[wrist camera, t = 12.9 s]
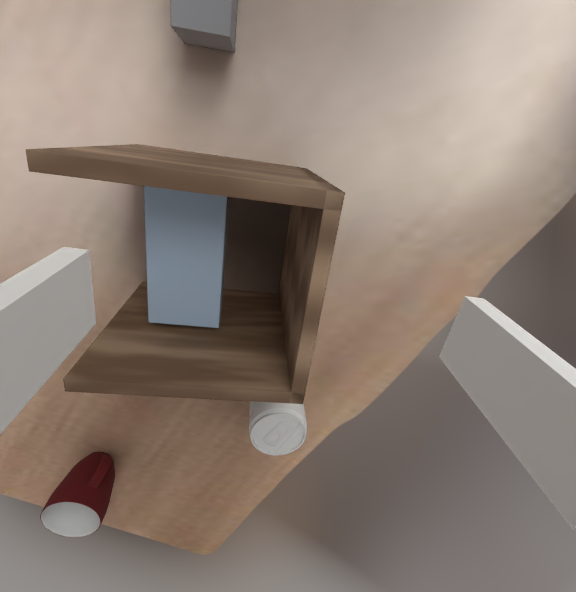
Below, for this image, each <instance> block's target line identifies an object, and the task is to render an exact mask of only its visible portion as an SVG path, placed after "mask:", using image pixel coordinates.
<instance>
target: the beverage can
mask: <svg viewBox="0 0 576 592" xmlns="http://www.w3.org/2000/svg"><path fill="white" fill-rule="evenodd" d="M306 433H307V423H306V417H305V411H304V405H303V404H291V403H272V402H254V401H250V416H249V435H250V438H251V442H252V444H253V445H254V447H255V448H256V449H257V450H259V451H260V452H262V453H265V454H268V455H285V454H288V453H291V452H293V451H295V450H297V449H298V448H299V447H300V446H301V445H302V444H303V443H304V441H305V438H306Z"/></svg>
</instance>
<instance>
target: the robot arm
mask: <svg viewBox="0 0 576 592" xmlns="http://www.w3.org/2000/svg"><path fill="white" fill-rule="evenodd" d="M95 324H96V316H95V306H94V295H93V285H92V274H91V264H90V253H89V250H87V249H79V248H71V247H62V248H60V249H59V250H57V251H55V252H54V253H52V254H50V255H49V256H47V257H45V258H43V259H42V260H40V261H38V262H37V263H35V264H33V265H31V266H30V267H28V268H26V269H25V270H23V271H21V272H20V273H18V274H16V275H14V276H13V277H11V278H9V279H8V280H6V281H4V282H2V283H1V284H0V434H1V433H2V432H3V431H4V430H5V429H6V427H7V426H8V425H9V424H10V423H11V422H12V420H13V419H14V418H15V417H16V416H17V415H18V413H19V412H20V411H21V410H22V409H23V408H24V407H25V405H26V404H27V403H28V402H29V401H30V400H31V398H32V397H33V396H34V395H35V394H36V393H37V391H38V390H39V389H40V388H41V387H42V386H43V384H44V383H45V382H46V381H47V380H48V379H49V378H50V376H51V375H52V374H53V373H54V372H55V371H56V369H57V368H58V367H59V366H60V365H61V364H62V362H63V361H64V360H65V359H66V358H67V357H68V356H69V354H70V353H71V352H72V351H73V350H74V349H75V347H76V346H77V345H78V344H79V343H80V342H81V340H82V339H83V338H84V337H85V336H86V335H87V333H88V332H89V331H90V330H91V329H92V328H93V327H94V325H95ZM439 357H440V359H441V360H442V361H443V363H444V364H445V365H446V366H447V368H448V369H449V370H450V372H451V373H452V374H453V376H454V377H455V378H456V379H457V381H458V382H459V383H460V385H461V386H462V387H463V388H464V390H465V391H466V392H467V394H468V395H469V396H470V397H471V399H472V400H473V401H474V403H475V404H476V405H477V407H478V408H479V409H480V410H481V412H482V413H483V414H484V415H485V417H486V418H487V420H488V421H489V422H490V423H491V425H492V426H493V427H494V428H495V430H496V431H497V432H498V434H499V435H500V436H501V438H502V439H503V440H504V442H505V443H506V444H507V445H508V447H509V448H510V449H511V451H512V452H513V453H514V454H515V456H516V457H517V458H518V460H519V461H520V462H521V463H522V465H523V466H524V467H525V469H526V470H527V471H528V472H529V474H530V475H531V476H532V478H533V479H534V480H535V481H536V483H537V484H538V485H539V487H540V488H541V489H542V491H543V492H544V493H545V495H546V496H547V497H548V498H549V500H550V501H551V502H552V504H553V505H554V506H555V507H556V509H557V510H558V511H559V513H560V514H561V515H562V516H563V518H564V519H565V520H566V522H567V523H568V524H569V526H570V527H571V528H572V529H573V530H576V369H575V368H573V367H572V366H571V365H570V364H569V363H567V362H566V361H565V360H563V359H562V358H561V357H559V356H558V355H557V354H555V353H554V352H553V351H551V350H550V349H549V348H548V347H546V346H545V345H544V344H542V343H541V342H540V341H539V340H537V339H536V338H535V337H533V336H532V335H531V334H529V333H528V332H527V331H525V330H524V329H523V328H522V327H520V326H519V325H518V324H516V323H515V322H514V321H512V320H511V319H510V318H508V317H507V316H506V315H505V314H503V313H502V312H501V311H499V310H498V309H497V308H495V307H494V306H493V305H491V304H490V303H489V302H488V301H486V300H485V299H483V298H475V297H467V296H465V297H464V300H463V302H462V304H461V307H460V309H459V311H458V314H457V316H456V319H455V321H454V323H453V326H452V328H451V330H450V333H449V335H448V338H447V340H446V342H445V344H444V347H443V349H442V351H441V354H440V356H439Z"/></svg>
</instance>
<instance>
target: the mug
mask: <svg viewBox="0 0 576 592" xmlns="http://www.w3.org/2000/svg"><path fill="white" fill-rule="evenodd" d="M114 478H115V469H114V463H113V459H112V457H111V456H110V455H108V454H107V453H104V452H94V453H92V454H90V455H89V456H87V457H86V458H84V459H83V460H81V461H80V462H79V463H77V464H76V465H75V466H74V467H73V468H72V470H71V471H70V472H69V473H68V475H67V476H66V477H65V478H64V479H63V481H62V482H61V483H60V484H59V486H58V487H57V488H56V489H55V491H54V492H53V493H52V495H51V496H50V498H49V500H48V501H47V503H46V505H45V507H44V509H43V511H42V513H41V517H40V518H41V522H42V524H43V525H44V526H45V527H46V528H47V529H48V530H50V531H51V532H53V533H55V534H58V535H61V536H65V537H83V536H87V535H90V534H92V533H94V532H95V531H97V530H98V528H99V527H100V525H101V523H102V521H103V518H104V516H105V514H106V511H107V508H108V505H109V501H110V497H111V492H112V488H113V483H114Z"/></svg>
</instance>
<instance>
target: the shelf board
mask: <svg viewBox="0 0 576 592" xmlns="http://www.w3.org/2000/svg"><path fill="white" fill-rule="evenodd" d="M228 202H229V197H226V196H218V195H210V194H203V193H195V192H187V191H179V190H171V189H164V188H156V187H148V186H144V203H145V232H146V262H147V291H148V320H149V322H150V323H163V324H175V325H188V326H200V327H213V328H219V324H220V319H221V311H222V295H223V280H224V264H225V249H226V233H227V218H228Z"/></svg>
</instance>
